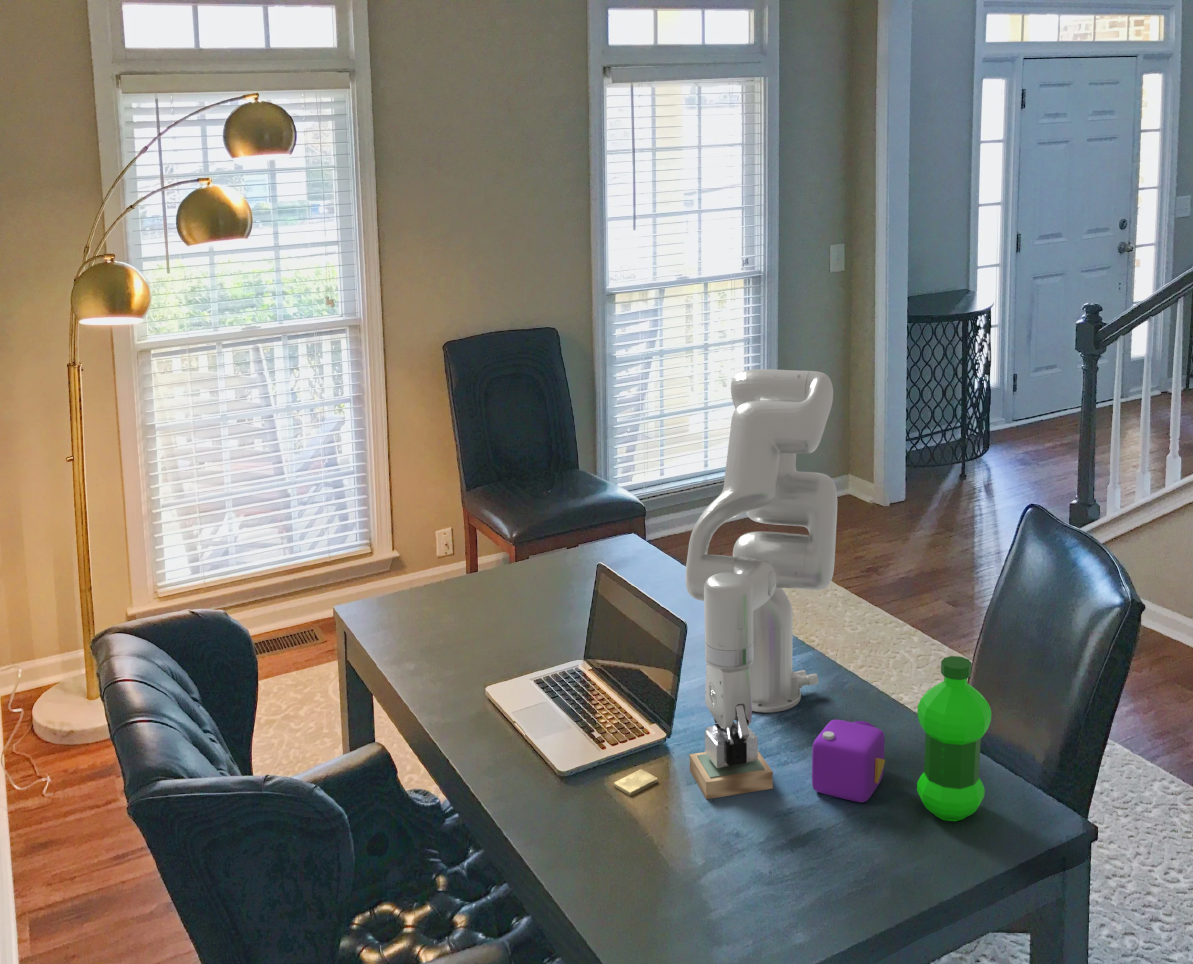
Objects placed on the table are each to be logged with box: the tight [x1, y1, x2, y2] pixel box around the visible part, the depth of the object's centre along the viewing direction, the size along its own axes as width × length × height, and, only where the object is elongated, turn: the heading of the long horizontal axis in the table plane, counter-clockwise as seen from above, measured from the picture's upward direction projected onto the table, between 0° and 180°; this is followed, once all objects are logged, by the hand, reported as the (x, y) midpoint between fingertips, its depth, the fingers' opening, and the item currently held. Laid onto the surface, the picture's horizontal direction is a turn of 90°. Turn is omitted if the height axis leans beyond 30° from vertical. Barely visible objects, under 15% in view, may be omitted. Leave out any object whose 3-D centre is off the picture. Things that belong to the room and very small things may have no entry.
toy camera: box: [811, 719, 886, 803], centre depth 202 cm, size 11×14×10 cm
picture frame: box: [689, 750, 774, 800], centre depth 205 cm, size 11×9×3 cm
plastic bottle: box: [916, 655, 992, 822], centre depth 190 cm, size 10×10×25 cm
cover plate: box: [613, 768, 659, 797], centre depth 205 cm, size 6×4×1 cm, turn 130°
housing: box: [704, 725, 759, 768], centre depth 203 cm, size 7×5×5 cm
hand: (730, 753), depth 204 cm, fingers closed on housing, 5 cm apart
